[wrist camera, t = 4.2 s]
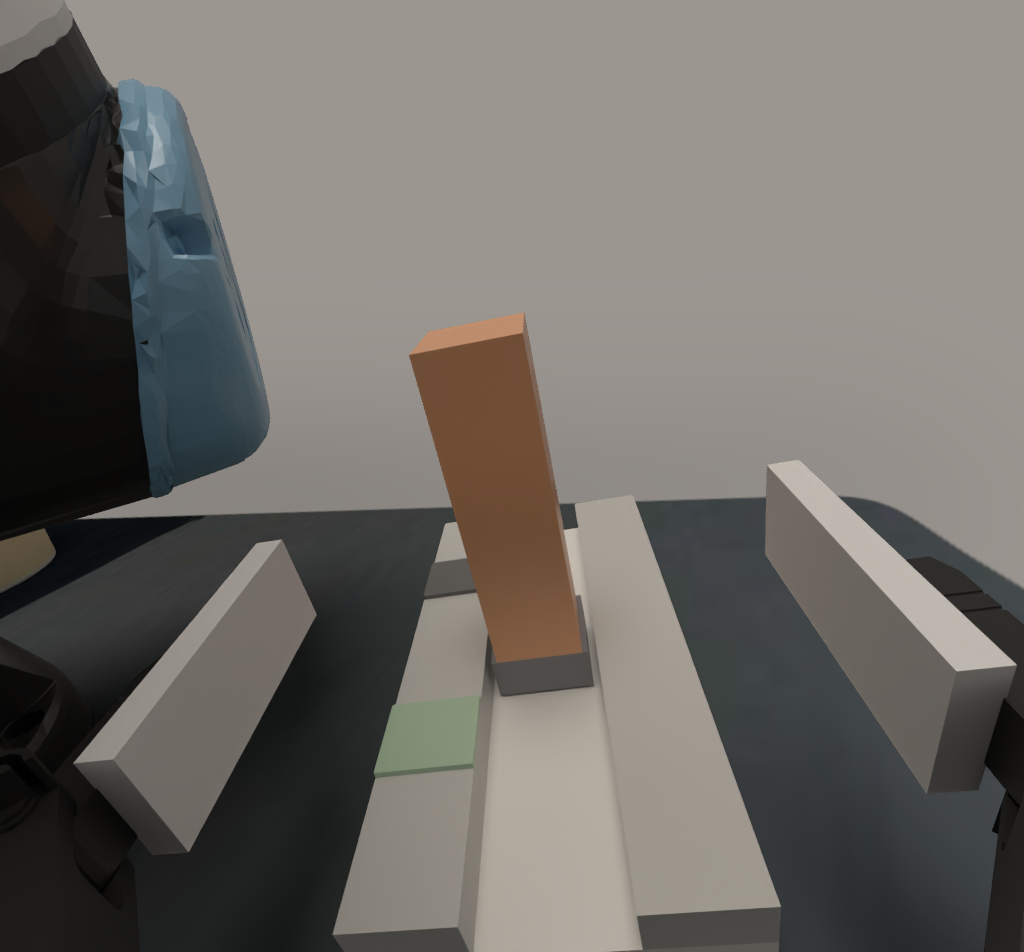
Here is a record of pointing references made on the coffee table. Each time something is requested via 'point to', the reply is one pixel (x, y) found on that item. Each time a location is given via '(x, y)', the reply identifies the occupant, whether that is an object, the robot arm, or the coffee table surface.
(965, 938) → the coffee table surface
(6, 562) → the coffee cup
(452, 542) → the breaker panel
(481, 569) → the handle
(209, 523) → the coffee table surface
